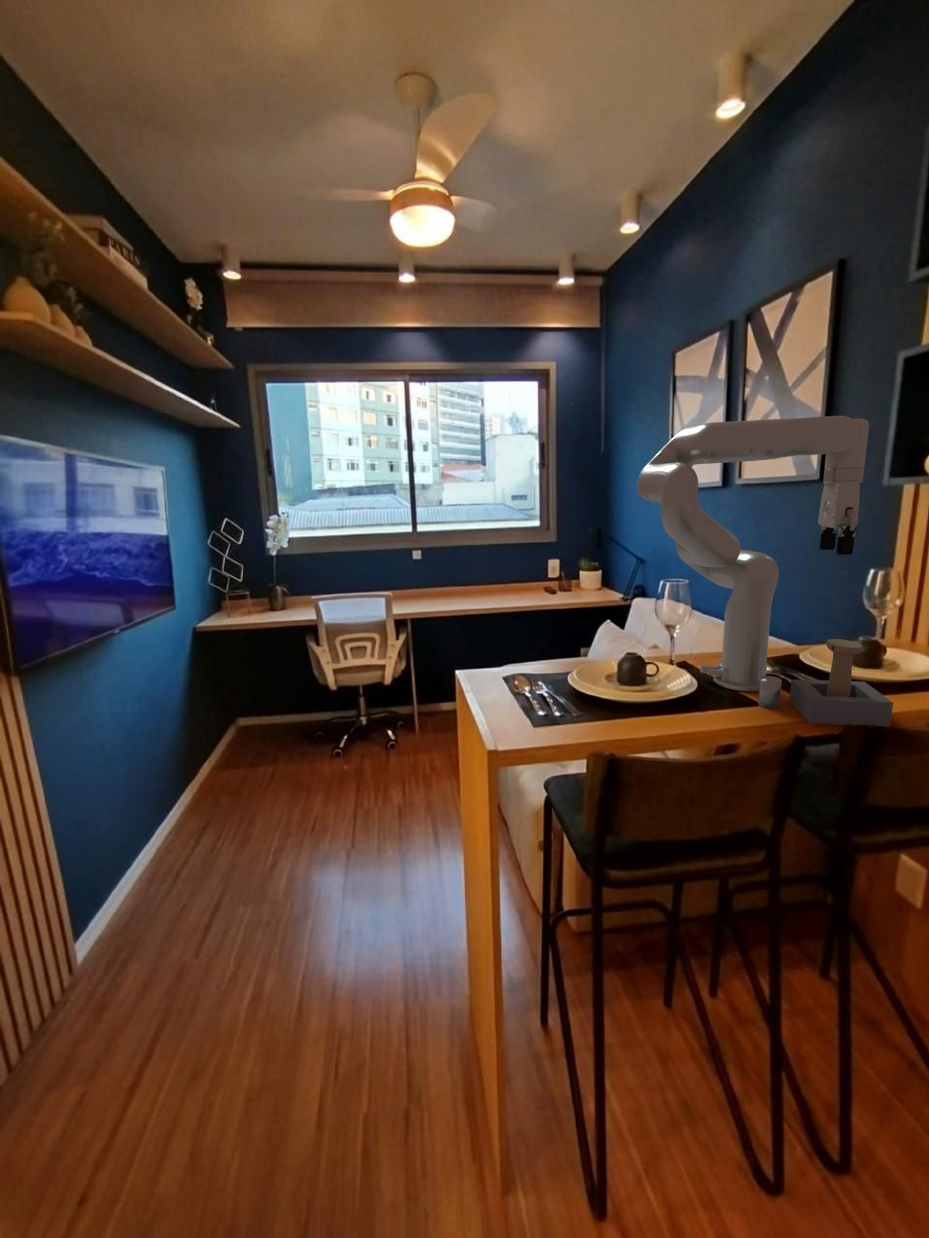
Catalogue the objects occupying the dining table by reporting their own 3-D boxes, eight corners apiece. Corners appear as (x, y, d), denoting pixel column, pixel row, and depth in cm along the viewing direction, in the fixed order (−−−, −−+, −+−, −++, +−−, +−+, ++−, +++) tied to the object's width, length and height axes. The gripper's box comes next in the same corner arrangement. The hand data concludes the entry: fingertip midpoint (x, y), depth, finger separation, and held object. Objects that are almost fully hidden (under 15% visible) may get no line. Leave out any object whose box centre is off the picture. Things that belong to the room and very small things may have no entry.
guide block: (809, 723, 112) (812, 699, 111) (789, 701, 124) (791, 679, 123) (889, 726, 109) (893, 702, 108) (861, 703, 121) (864, 681, 119)
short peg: (761, 708, 120) (763, 682, 119) (756, 701, 124) (758, 675, 123) (781, 709, 120) (784, 682, 118) (776, 702, 123) (778, 676, 122)
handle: (834, 706, 120) (842, 638, 117) (859, 717, 114) (868, 646, 110) (814, 708, 119) (821, 640, 116) (838, 720, 113) (846, 648, 110)
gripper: (810, 477, 137) (804, 548, 141) (840, 477, 121) (832, 556, 125) (845, 476, 135) (837, 547, 139) (880, 475, 119) (870, 556, 123)
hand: (835, 552), depth 132 cm, fingers open, 9 cm apart
